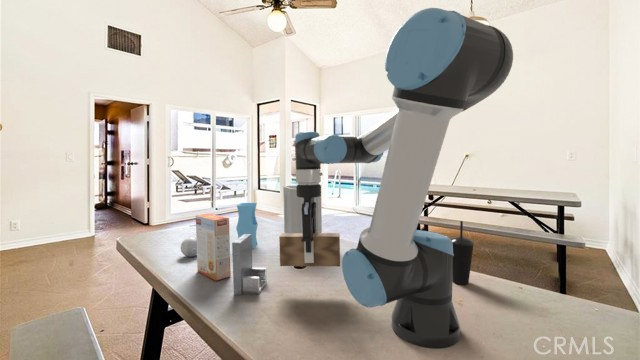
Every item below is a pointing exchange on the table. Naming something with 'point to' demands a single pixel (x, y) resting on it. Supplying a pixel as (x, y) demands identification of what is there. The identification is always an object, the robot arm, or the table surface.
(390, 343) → the table surface
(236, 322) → the table surface
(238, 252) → the bracket
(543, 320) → the table surface
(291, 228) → the white triangular prism
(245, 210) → the vase
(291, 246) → the rail
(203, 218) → the cracker box
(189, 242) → the bath bomb
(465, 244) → the drinking cup
